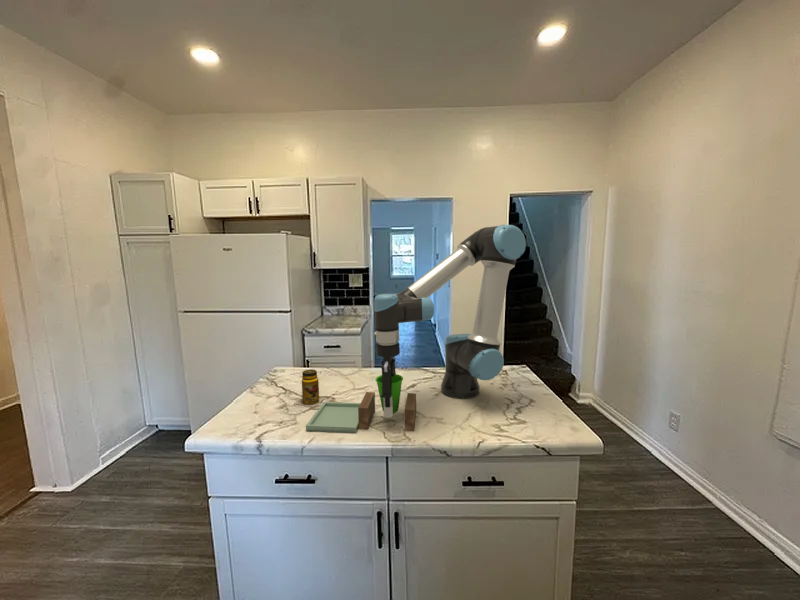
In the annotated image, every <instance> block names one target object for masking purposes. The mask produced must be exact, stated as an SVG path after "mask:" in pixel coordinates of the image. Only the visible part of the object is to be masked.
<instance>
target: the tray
mask: <svg viewBox="0 0 800 600" xmlns="http://www.w3.org/2000/svg"><path fill="white" fill-rule="evenodd" d="M360 403H361V402H338V401H336V402H335V401H334V402H333V401H323V402H322V404H321V405H320V406H319V407H318V409H317V410H316V412H314V414H313V415H312V417H311V418H310V419H309V421H308V422H307V424H306V425H305V432H315V433H316V432H319V433H344V434H345V433H346V434H351V433H352V434H357V433H358V430H359V420H358V407H359V405H360Z"/></svg>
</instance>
